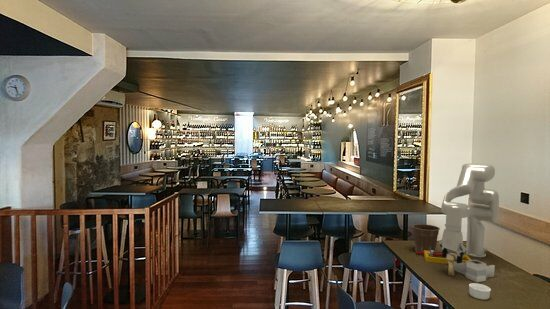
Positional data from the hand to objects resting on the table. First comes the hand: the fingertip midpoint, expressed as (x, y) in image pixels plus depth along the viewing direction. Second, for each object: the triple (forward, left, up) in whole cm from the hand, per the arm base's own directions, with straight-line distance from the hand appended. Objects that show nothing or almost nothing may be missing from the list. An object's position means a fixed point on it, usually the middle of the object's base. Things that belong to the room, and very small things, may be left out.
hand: (451, 260), depth 191 cm
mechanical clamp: (-14, -17, -9) cm, 24 cm away
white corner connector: (-12, +4, -8) cm, 15 cm away
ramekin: (+9, +24, -8) cm, 27 cm away
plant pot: (-16, -35, -8) cm, 39 cm away
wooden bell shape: (0, 0, -8) cm, 8 cm away
